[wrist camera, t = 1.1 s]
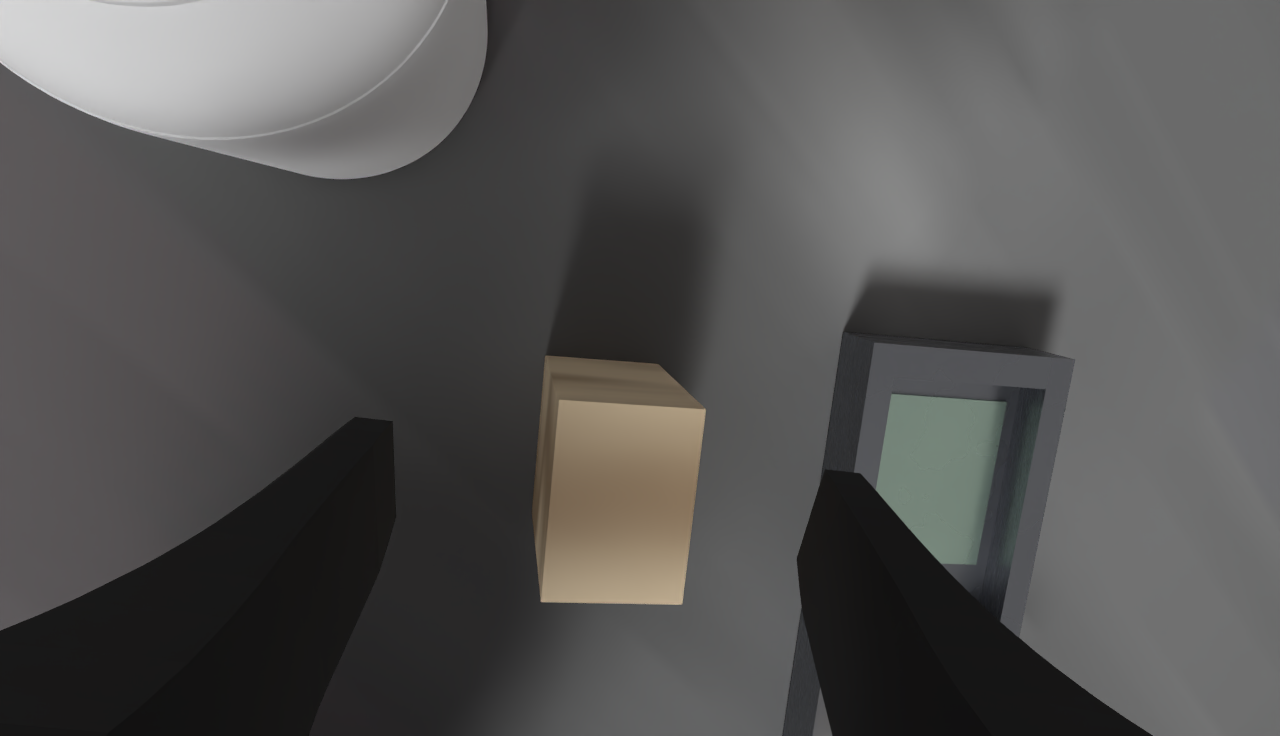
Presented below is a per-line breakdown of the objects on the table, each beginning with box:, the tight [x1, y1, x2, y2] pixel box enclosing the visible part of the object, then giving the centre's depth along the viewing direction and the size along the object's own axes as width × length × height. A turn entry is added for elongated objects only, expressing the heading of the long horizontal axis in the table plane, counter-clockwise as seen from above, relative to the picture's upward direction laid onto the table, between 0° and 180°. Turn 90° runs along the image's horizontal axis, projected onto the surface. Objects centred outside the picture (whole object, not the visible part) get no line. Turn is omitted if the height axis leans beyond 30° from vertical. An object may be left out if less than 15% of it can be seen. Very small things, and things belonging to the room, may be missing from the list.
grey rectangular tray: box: [783, 332, 1075, 736], centre depth 26 cm, size 16×7×2 cm, turn 174°
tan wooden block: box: [532, 355, 706, 605], centre depth 22 cm, size 5×4×6 cm, turn 174°
